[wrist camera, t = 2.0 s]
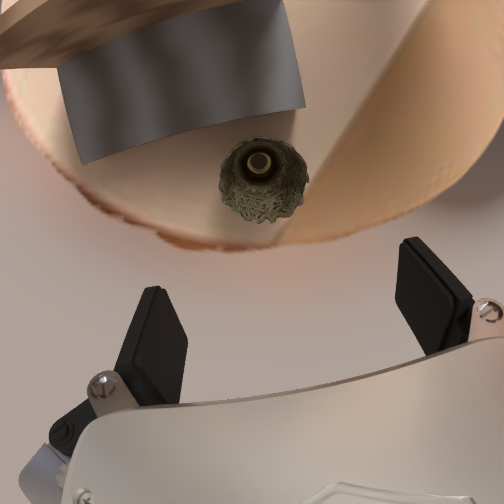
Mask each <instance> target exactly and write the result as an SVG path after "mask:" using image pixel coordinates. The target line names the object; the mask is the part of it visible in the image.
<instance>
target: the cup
mask: <svg viewBox="0 0 504 504" xmlns="http://www.w3.org/2000/svg"><path fill="white" fill-rule="evenodd" d="M256 154H261V155H263V156H265V158H266V160H267V163H266V165H265V167H263V168H261V169H256V168H254V167H253V166H252V164H251V159H252V157H253V156H254V155H256ZM306 183H309V175H308V173H307V165H306V163H305V161H304V159H303V158H302V157H301V155H300V154H299V153H297V152H296V151H295V149H294V147H292V146H291V145H289V144H286V143H284V142H283V141H281V140H279V139H276V138H271V137H263V136H261V137H253V138H249V139H247V140H245V141H243V142H241V143H240V144H238V145H237V146H236V147H235V148H233V149H232V150H231V151H230V153H229V154H228V155H227V156H226V158H225V160H224V161H223V162H222V164H221V173H220V181H219V190H221V199H222V201H223V203H224V204H226V205H229V206H230V207H231V210H232V213H233V214H238V213H239V212H240V214H241V216H242V217H243V218H244V219H245V220H246V221H252V220H253V222H255V223H257V224H260V223H262V222H263V221H264V220H265V219H268V220H269V222H270V223H274V222H275V221H276V219H277V218H279V217H282V218H287V217H290V216H291V215H292V214H293V213H294V211H295V210H296V207H297V206H300V205H302V204H303V202H304V197H303V192H304V190H305V185H306Z"/></svg>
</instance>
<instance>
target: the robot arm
mask: <svg viewBox="0 0 504 504" xmlns="http://www.w3.org/2000/svg"><path fill="white" fill-rule="evenodd" d="M472 297H473V296H472V295H471V293H470V292H469V291H468V290H467V289H466V288H465V286H464V285H463V284H462V283H461V282H460V281H459V280H458V279H457V277H456V276H455V275H454V274H453V273H452V272H451V271H450V270H449V269H448V268H447V266H446V265H445V264H444V263H443V262H442V261H441V260H440V259H439V258H438V257H437V256H436V255H435V254H434V253H433V252H432V251H431V249H429V247H428V246H427V245H426V244H425V243H424V242H422V240H421V239H419V237H411V238H407V239H404V240H403V243H401V244H400V246H399V260H398V272H397V283H396V292H395V301H396V304H397V306H398V308H399V309H400V311H401V313H402V314H403V316H404V318H405V319H406V321H407V323H408V325H409V326H410V328H411V330H412V331H413V333H414V335H415V336H416V339H417V340H418V342H419V344H420V346H421V347H422V349H423V351H424V353H425V355H426V356H425V357H422V358H419V359H416V360H412V361H409V362H406V363H403V364H400V365H397V366H393V367H390V368H386V369H383V370H379V371H376V372H372V373H368V374H364V375H360V376H356V377H353V378H348V379H344V380H340V381H336V382H331V383H327V384H322V385H317V386H313V387H307V388H302V389H296V390H291V391H285V392H279V393H273V394H267V395H259V396H252V397H245V398H236V399H227V400H217V401H206V402H195V403H181V404H179V400H180V393H181V386H182V379H183V373H184V366H185V360H186V353H187V347H188V339H187V336H186V334H185V332H184V329H183V327H182V325H181V323H180V321H179V319H178V316H177V314H176V312H175V310H174V308H173V305H172V303H171V301H170V299H169V296H168V294H167V292H166V290H165V289H161V287H160V286H153V287H147V288H145V289H144V292H143V294H142V296H141V299H140V301H139V304H138V306H137V309H136V311H135V314H134V316H133V319H132V322H131V324H130V326H129V329H128V331H127V334H126V337H125V340H124V342H123V345H122V348H121V351H120V354H119V356H118V359H117V362H116V365H115V368H114V371H111V370H110V371H109V370H107V371H103V372H101V373H98V374H97V375H96V376H94V377H93V378H92V380H91V381H90V382H89V384H88V387H87V395H88V399H87V400H85V401H84V402H82V403H81V404H80V405H78V406H77V407H76V408H74V409H73V410H71V411H70V412H69V413H67V414H66V415H64V416H63V417H62V418H60V419H59V420H57V421H56V422H55V423H54V424H53V426H52V427H51V429H50V432H49V442H50V443H49V444H48V445H47V444H46V443H44V444H43V445H42V447H41V448H40V449H39V450H38V451H37V453H36V454H35V455H34V456H33V457H32V459H31V460H30V461H29V462H28V464H27V465H26V466H25V467H24V469H23V470H22V471H21V473H20V475H19V479H18V481H19V486H20V488H21V490H22V491H23V493H24V494H25V495H26V497H27V498H28V499H29V501H30V502H31V504H504V306H503V305H502V304H501V303H499V302H498V301H496V300H493V299H490V298H483V299H480V300H478V301H476V302H475V301H474V300H473V299H472Z"/></svg>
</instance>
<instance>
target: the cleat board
mask: <svg viewBox="0 0 504 504" xmlns="http://www.w3.org/2000/svg"><path fill="white" fill-rule="evenodd" d="M18 68H57V71H58V76H59V81H60V86H61V90H62V94H63V99H64V103H65V107H66V111H67V115H68V118H69V122H70V126H71V129H72V133H73V136H74V140H75V143H76V146H77V150H78V153H79V156H80V159H81V162H82V165H85V164H88V163H90V162H93V161H96V160H98V159H101V158H104V157H106V156H109V155H112V154H115V153H118V152H120V151H123V150H126V149H129V148H132V147H135V146H138V145H141V144H145V143H148V142H151V141H154V140H158V139H161V138H164V137H168V136H171V135H175V134H178V133H182V132H186V131H190V130H193V129H197V128H201V127H205V126H210V125H214V124H218V123H223V122H227V121H232V120H236V119H241V118H246V117H251V116H257V115H262V114H268V113H274V112H280V111H286V110H293V109H300V108H306V105H305V100H304V94H303V89H302V83H301V78H300V73H299V68H298V63H297V59H296V54H295V49H294V45H293V40H292V36H291V31H290V27H289V23H288V19H287V15H286V11H285V7H284V3H283V0H19V1H18V2H16V3H15V4H14V5H12V6H11V7H10V8H9V9H7V10H6V11H5V12H4V13H2V14H1V15H0V70H2V69H18Z"/></svg>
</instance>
